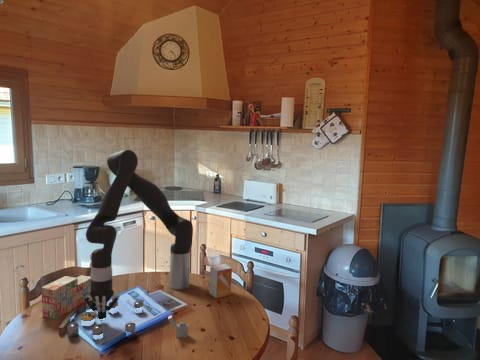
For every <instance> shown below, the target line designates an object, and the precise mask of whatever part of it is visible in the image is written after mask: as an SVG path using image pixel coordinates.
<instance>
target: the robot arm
mask: <svg viewBox="0 0 480 360" xmlns="http://www.w3.org/2000/svg"><path fill="white" fill-rule="evenodd" d="M138 161H139V158H138V156H137V153H136V152H134V150H131V149H125V150H124V149H123V150H120V151H117V152H115V153H112V154H110V155H108V157H107V159H106V164H107V167H108V169H109V171H110V172H111V173H112V174H113V175H114V176H115V178H114V179H113V181H112V183H111V184H110V185H109V187H108V189H107V190H106V191H105V193H104V195H103V196H102V199H101V202H100V205H99V209H98V211H97V213H96V215H95V216H94V218H93V219H92V220H91V222H90V224H89V225H88V227H87V229H86V231H85V232H86V233H85V237H86V241H87V242H88V243H90V244H98V245H103V247H102V248H101V247H99V248H96V249H94V250H93V251H92V252H91V268H90V270H91V271H90V277H91V292H90V295H88V296H86V297H85V299H84V301H85V302H84V303H87V304H88V305H89V307H90V308H91V309H92V310H93V311H95V312H97V319H98V318H99V319H103V318H106V319H107V311H108V312H109V310H110V309H111V308H112V307H113V306H114V304H115V303H116V302H118V301H119V299H120V295H118V294H117V295H116V294H115V292H114V290H113V265H112V262H113V261H112V258H113V257H112V255H113V254H112V253H113V249H114V245H115V243H116V242H115V241H116V238H117V230H116V228H115V226H114V225H111V224H110V225H109V224H107V223H109V222H110V223H111V222H113V221H114V222H115V220H116V219H117V217H118V214H119V211H120V206H121V204H122V200H123V197H124V195H125V192H126V190H127V188H129V190H131V192H133V194H135V195H136V197H138V199H139V200H140V201H141V203H143V204H144V205H145V206H146V207H147V209H149V210H150V212H151V213H153V214H154V216H155V217H156V218H158V219H159V220H160V221H161V222H162V224H163V225H164V227H165V228H166V229H167V232H169V233H170V234H171V235H172V236H174V238H175V239H174V243H172V244H171V245H170V249H169V250H170V257H169V260H170V261H169V262H170V263H169V264H170V265H169V288H170V289H172V290H177V291H181V290H182V291H183V290H186V289H189V288H190V279H191V278H190V274H191V272H190V271H191V263H190V262H191V248H192V245H193V238H194V236H193V235H194V227H193V223H192V221H190V220H189V219H186V218H184V217H181V216H180V215H179V214H178V213H176V212H175V211H174V210H173V209H172V207H171V206H170V204H169V200H168V198H167V196H166V195H165V194H164V193H163V191H162V190H161V189H160V188H159V187H158V186H157V185H156V184H155V183H153V182H152V181H150V180H147V179H146V178H144V177H141V176H140V175H138V173H136V172H135V171H136V170H137V167H138ZM110 300H111V301H112V302H111V301H110ZM109 302H111V303H110V304H109Z"/></svg>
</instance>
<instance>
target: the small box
mask: <svg viewBox="0 0 480 360" xmlns="http://www.w3.org/2000/svg"><path fill="white" fill-rule="evenodd" d="M232 272H233V268H232V267H231V266H229V265H228V264H226V263H222V264H217V265H212V266H210V268H209V289H208V290H209V291H208V292H209V295H210V296H212V297H214V298H215V299H218V298H222V297H227V296H230V295H232V293H231V291H232V275H233V273H232Z"/></svg>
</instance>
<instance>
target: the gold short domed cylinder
mask: <svg viewBox="0 0 480 360" xmlns="http://www.w3.org/2000/svg"><path fill="white" fill-rule="evenodd" d="M94 318H95V319H96V312H95V313H94V312H83V313H81V314H80V321H81V320H83V321H91V320H93V319H94Z"/></svg>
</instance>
